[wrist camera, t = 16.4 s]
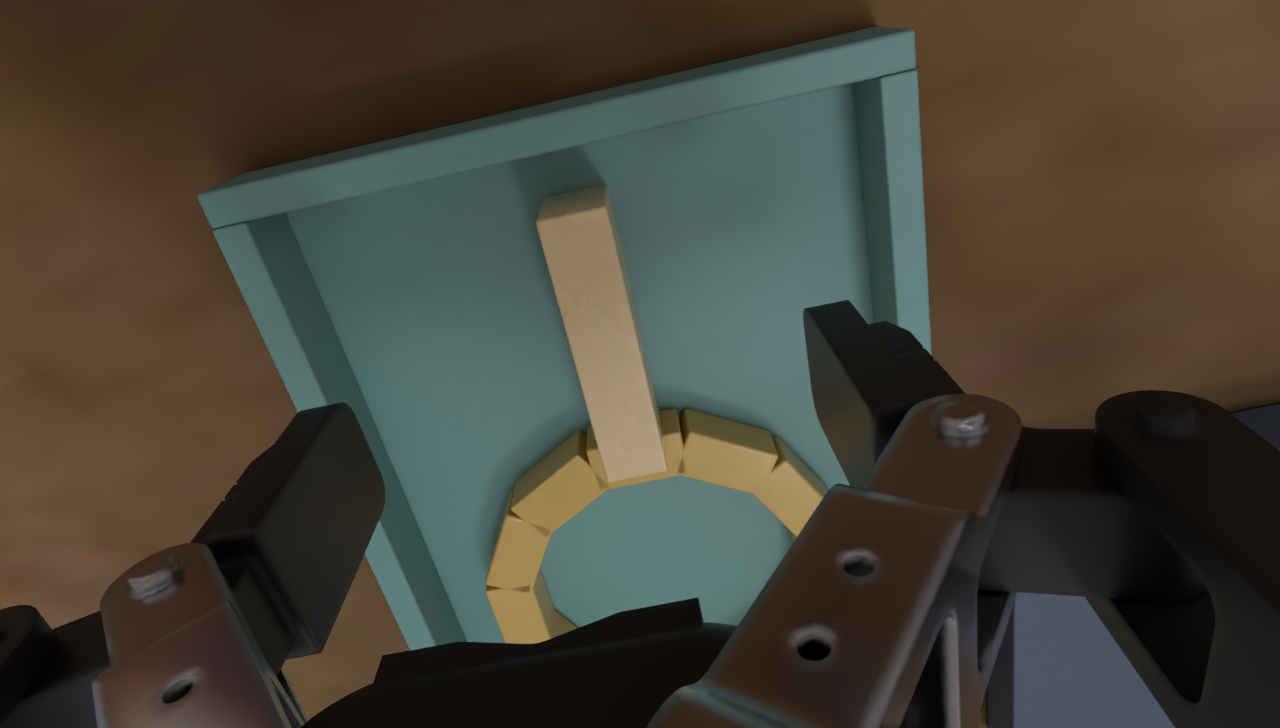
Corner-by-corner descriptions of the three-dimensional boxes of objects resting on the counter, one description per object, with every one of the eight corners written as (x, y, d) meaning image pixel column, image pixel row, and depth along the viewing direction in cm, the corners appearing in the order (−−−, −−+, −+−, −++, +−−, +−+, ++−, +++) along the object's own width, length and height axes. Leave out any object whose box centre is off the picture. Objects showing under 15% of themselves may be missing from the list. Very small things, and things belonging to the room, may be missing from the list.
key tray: (243, 172, 18) (193, 195, 16) (877, 25, 17) (915, 27, 15) (498, 755, 27) (489, 819, 25) (923, 678, 27) (951, 738, 24)
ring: (368, 236, 19) (336, 265, 17) (788, 142, 18) (812, 160, 16) (546, 707, 26) (540, 770, 24) (851, 651, 25) (873, 711, 23)
